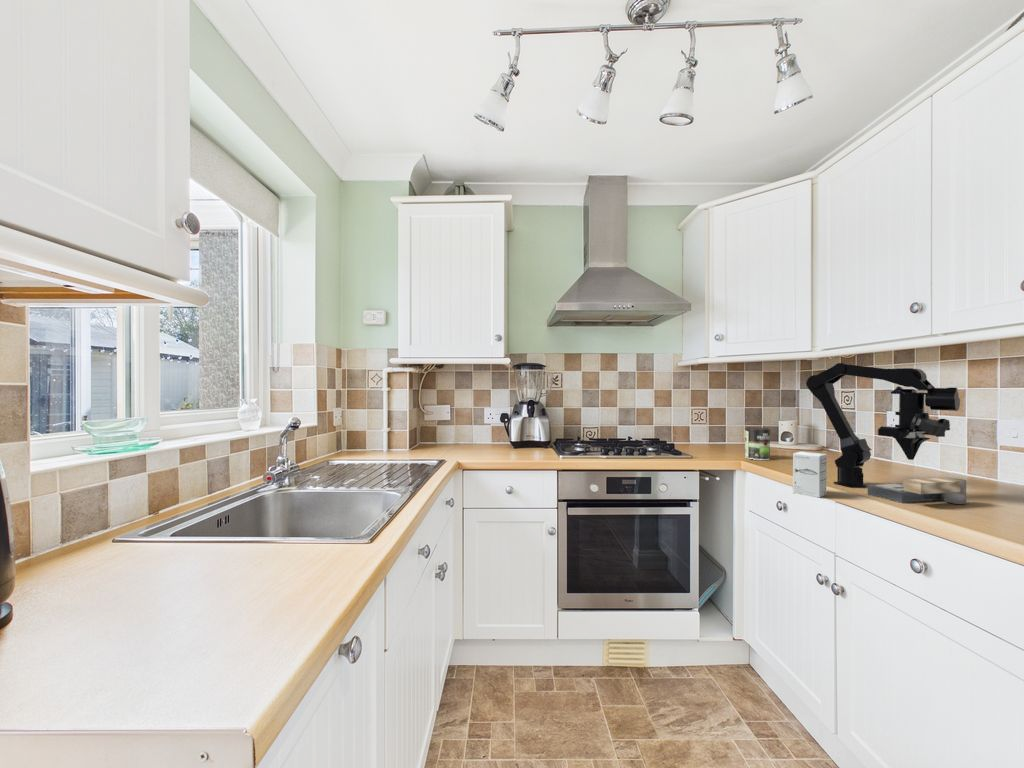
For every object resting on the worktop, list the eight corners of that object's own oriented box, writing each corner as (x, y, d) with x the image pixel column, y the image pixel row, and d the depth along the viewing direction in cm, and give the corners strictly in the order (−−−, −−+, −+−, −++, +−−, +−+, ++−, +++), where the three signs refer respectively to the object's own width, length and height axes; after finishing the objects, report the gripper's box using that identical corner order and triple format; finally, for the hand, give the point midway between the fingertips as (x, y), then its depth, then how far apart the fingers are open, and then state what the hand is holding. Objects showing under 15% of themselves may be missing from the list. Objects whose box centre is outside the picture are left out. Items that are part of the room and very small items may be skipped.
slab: (867, 494, 136) (867, 483, 136) (919, 491, 140) (919, 481, 140) (901, 503, 127) (901, 491, 127) (956, 499, 131) (956, 488, 131)
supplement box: (791, 493, 137) (791, 453, 138) (800, 490, 142) (800, 450, 142) (819, 498, 132) (819, 455, 132) (827, 494, 137) (827, 453, 137)
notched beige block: (952, 499, 129) (952, 477, 129) (970, 503, 125) (970, 480, 125) (903, 502, 126) (903, 479, 126) (920, 506, 121) (920, 483, 121)
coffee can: (775, 460, 200) (775, 429, 201) (755, 461, 198) (755, 429, 198) (758, 456, 211) (758, 427, 211) (739, 457, 208) (739, 427, 209)
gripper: (916, 410, 127) (915, 465, 127) (966, 410, 130) (965, 463, 131) (876, 408, 138) (876, 458, 138) (924, 408, 141) (923, 457, 141)
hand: (910, 459), depth 137 cm, fingers closed
